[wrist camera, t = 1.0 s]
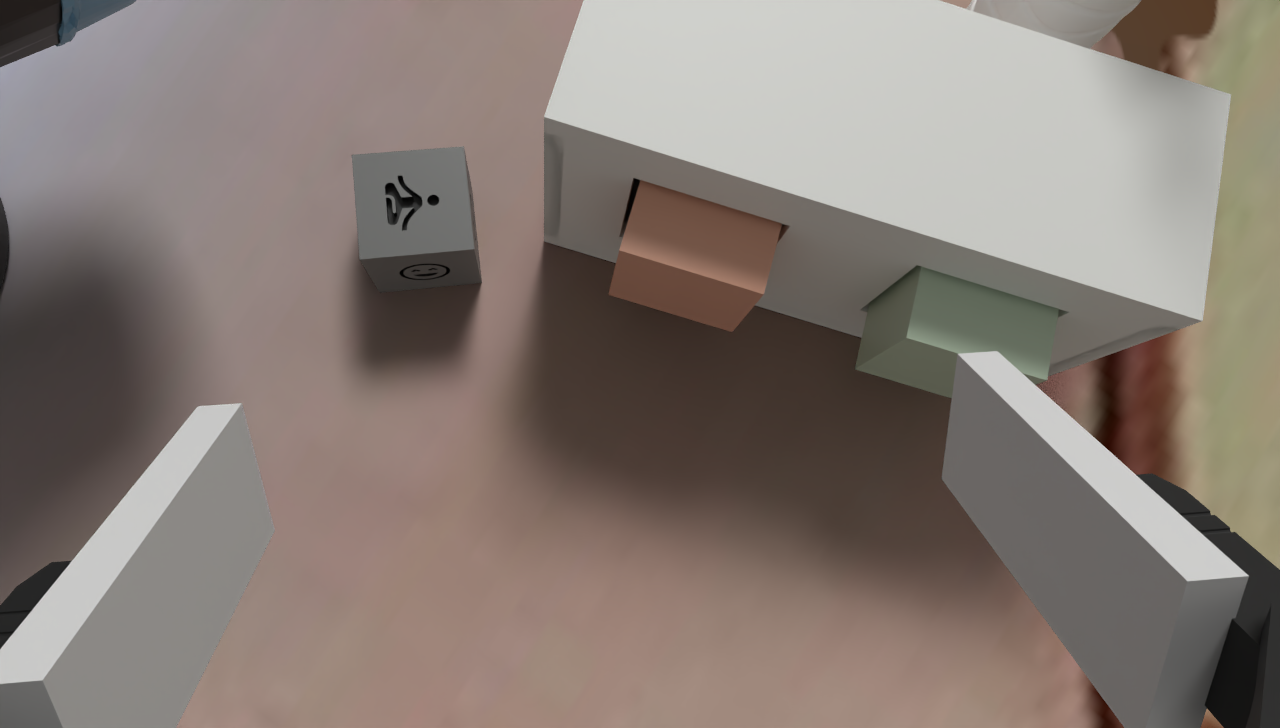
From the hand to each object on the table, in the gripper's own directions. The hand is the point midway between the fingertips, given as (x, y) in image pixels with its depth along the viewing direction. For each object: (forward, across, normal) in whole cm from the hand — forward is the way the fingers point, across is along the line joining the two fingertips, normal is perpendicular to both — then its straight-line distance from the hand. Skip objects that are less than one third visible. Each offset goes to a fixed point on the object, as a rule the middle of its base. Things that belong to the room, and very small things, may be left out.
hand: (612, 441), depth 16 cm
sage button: (+23, +16, -8) cm, 29 cm away
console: (+30, +12, -5) cm, 33 cm away
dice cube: (+29, -8, -5) cm, 31 cm away
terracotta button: (+25, +5, -4) cm, 26 cm away
